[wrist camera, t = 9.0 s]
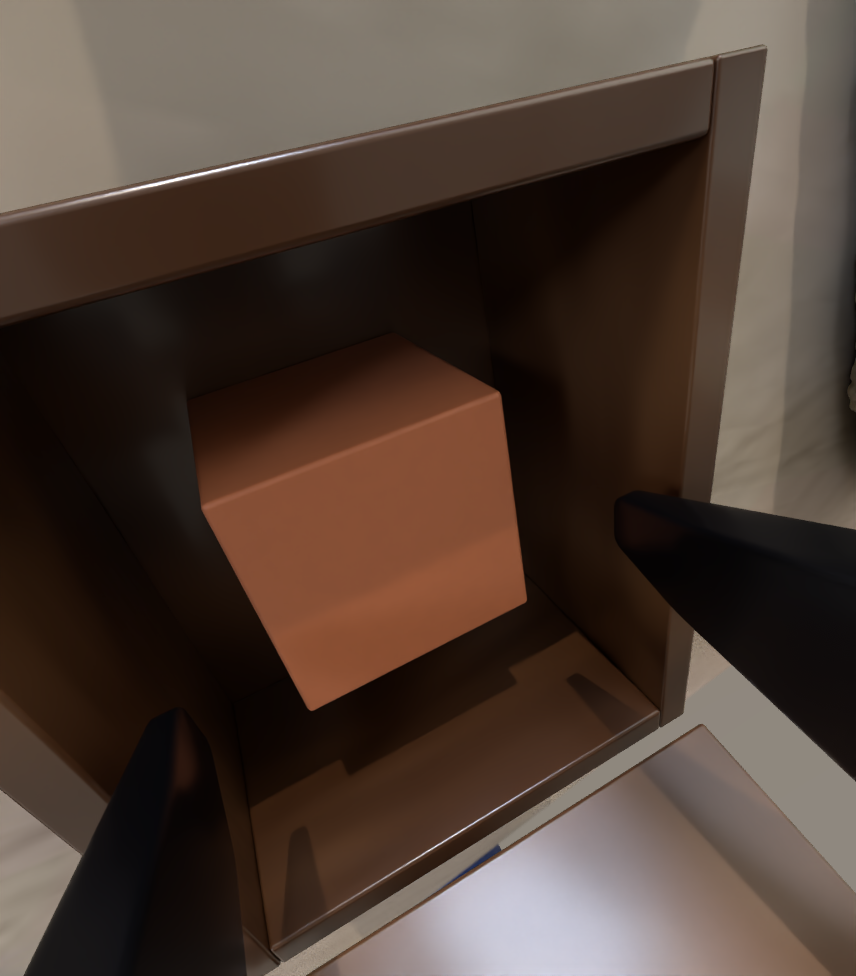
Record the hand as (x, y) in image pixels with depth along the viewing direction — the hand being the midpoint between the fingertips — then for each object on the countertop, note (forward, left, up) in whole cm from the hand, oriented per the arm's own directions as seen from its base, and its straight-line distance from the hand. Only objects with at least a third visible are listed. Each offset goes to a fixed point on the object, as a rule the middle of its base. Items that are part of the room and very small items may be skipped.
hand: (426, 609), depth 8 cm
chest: (0, 0, -7) cm, 7 cm away
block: (0, 0, -6) cm, 6 cm away
